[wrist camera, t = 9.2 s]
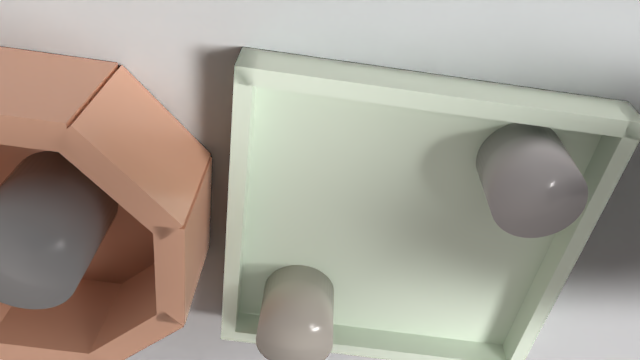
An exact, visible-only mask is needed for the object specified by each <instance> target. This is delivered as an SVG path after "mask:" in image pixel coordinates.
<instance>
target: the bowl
mask: <svg viewBox="0 0 640 360" xmlns="http://www.w3.org/2000/svg"><path fill="white" fill-rule="evenodd" d="M43 151H54V152H59V153H60V154H61V155H63V156H64V157H65V158H66V159H67V160H68V161H69V162H71V163H72V164H73V165H74V166H75V167H76V168H78V169H79V170H80V171H81V172H82V173H83V174H85V175H86V176H87V177H88V178H89V179H90V180H92V181H93V182H94V183H95V184H96V185H97V186H99V187H100V188H101V189H102V190H103V191H104V192H105V193H107V194H108V195H109V196H110V197H111V198H112V199H114V200H115V201H116V202H117V203H118V211H117V215H116V217H115V219H114V221H113V223H112V224H111V226H110V228H109V230H108V232H107V234H106V235H105V237H104V239H103V241H102V243H101V245H100V246H99V248H98V250H97V252H96V254H95V255H94V257H93V259H92V261H91V263H90V265H89V266H88V268H87V270H86V272H85V274H84V275H83V277H82V279H81V281H80V283H79V285H78V286H77V288H76V290H75V292H74V293H73V295H72V296H71V297H70V298H69V299H68V300H67V301H65V302H64V303H62V304H60V305H58V306H55V307H52V308H47V309H24V308H18V307H14V306H10V305H7V304H4V303H1V302H0V360H125V359H126V358H128V357H130V356H132V355H134V354H135V353H137V352H139V351H141V350H143V349H144V348H146V347H148V346H150V345H152V344H153V343H155V342H157V341H159V340H161V339H163V338H164V337H166V336H168V335H170V334H172V333H173V332H175V331H177V330H179V329H181V328H182V327H184V324H185V323H186V320H187V317H188V313H189V310H190V307H191V304H192V300H193V297H194V294H195V291H196V287H197V284H198V281H199V278H200V274H201V271H202V268H203V265H204V261H205V258H206V255H207V252H208V248H209V243H210V209H211V175H212V157H210V155H211V154H210V153H209V152H208V151H207V150H206V149H205V148H204V147H203V146H202V145H201V144H200V143H199V142H198V141H197V140H196V139H195V138H194V137H193V136H192V135H191V134H190V133H189V132H188V131H187V130H186V129H185V127H184V126H183V125H182V124H181V123H180V122H179V121H178V120H177V119H176V118H175V117H174V116H173V115H172V114H171V113H170V112H169V111H168V110H167V109H166V108H165V107H164V106H163V105H162V104H161V103H160V102H159V101H158V100H157V99H156V98H155V97H154V96H153V95H152V94H151V93H150V92H149V91H148V90H147V89H146V88H145V87H144V86H143V85H142V84H141V83H140V82H139V81H138V80H137V79H136V78H135V77H134V76H133V75H132V74H131V73H130V72H129V71H128V70H127V69H126V68H125V67H124V66H123V65H121V66H120V67H119V68H118V63H115V62H108V61H101V60H94V59H87V58H79V57H72V56H65V55H58V54H51V53H44V52H36V51H29V50H22V49H15V48H8V47H1V46H0V184H1V183H2V182H3V181H4V180H5V179H6V178H7V176H8V175H9V174H10V173H11V172H12V171H13V170H14V169H15V167H16V166H17V165H18V164H19V163H20V162H21V161H22V160H23V159H25V158H26V157H28V156H30V155H32V154H34V153H38V152H43Z"/></svg>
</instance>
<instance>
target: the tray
mask: <svg viewBox="0 0 640 360" xmlns="http://www.w3.org/2000/svg"><path fill="white" fill-rule="evenodd" d="M511 123H520V124H527V125H535V126H542V127H549V128H551V129H552V130H553V131H554V132H555V133H556V134H557V135H558V137H559V138H560V140H561V142H562V143H563V145H564V146H565V148H566V150H567V151H568V153H569V155H570V156H571V158H572V160H573V161H574V163H575V165H576V166H577V168H578V169H579V171H580V173H581V174H582V176H583V178H584V179H585V181H586V183H587V187H588V200H587V203H586V206H585V208H584V210H583V212H582V213H581V214H580V216H579V217H578V218H577V219H576V220H575V221H574V222H573V223H572V224H570V225H569V226H568V227H566V228H565V229H563V230H561V231H559V232H557V233H554V234H551V235H548V236H544V237H538V238H523V237H518V236H514V235H512V234H509V233H507V232H506V231H504V230H503V229H501V228H500V227H499V226H498V225H497V224H496V222H495V221H494V219H493V216H492V214H491V211H490V208H489V205H488V202H487V199H486V196H485V193H484V190H483V187H482V184H481V181H480V178H479V175H478V172H477V169H476V157H477V153H478V151H479V148H480V147H481V145H482V143H483V142H484V141H485V139H486V138H487V137H488V136H489V135H491V134H492V133H493V132H494V131H496V130H498V129H499V128H501V127H503V126H506V125H508V124H511ZM639 141H640V114H639V113H638V112H637V111H636V110H635V109H634V108H633V106H632V105H631V104H630V103H629V102H628V101H621V100H614V99H607V98H600V97H593V96H586V95H579V94H572V93H565V92H558V91H551V90H544V89H537V88H529V87H522V86H515V85H508V84H501V83H494V82H487V81H480V80H473V79H466V78H459V77H452V76H445V75H438V74H431V73H424V72H417V71H410V70H402V69H395V68H388V67H381V66H374V65H367V64H360V63H353V62H346V61H339V60H332V59H325V58H318V57H311V56H304V55H297V54H290V53H283V52H275V51H268V50H261V49H254V48H247V47H242V49H241V52H240V54H239V56H238V59H237V61H236V63H235V66H234V85H233V105H232V125H231V145H230V165H229V184H228V204H227V224H226V244H225V264H224V284H223V303H222V323H221V340H229V341H237V342H246V343H254V344H256V335H257V329H258V323H259V317H260V311H261V305H262V299H263V293H264V287H265V283H266V280H267V279H268V277H269V276H270V275H271V274H272V273H273V272H275V271H276V270H278V269H280V268H283V267H286V266H291V265H304V266H309V267H312V268H315V269H317V270H319V271H321V272H322V273H324V274H325V275H326V276H327V277H328V278H329V279H330V280H331V282H332V284H333V287H334V319H333V347H332V350H331V352H330V353H337V354H345V355H353V356H361V357H370V358H378V359H386V360H525V359H526V357H527V355H528V353H529V351H530V350H531V348H532V346H533V344H534V342H535V340H536V338H537V336H538V334H539V332H540V330H541V328H542V327H543V325H544V323H545V321H546V319H547V317H548V315H549V313H550V311H551V309H552V307H553V306H554V304H555V302H556V300H557V298H558V296H559V294H560V292H561V290H562V288H563V286H564V284H565V283H566V281H567V279H568V277H569V275H570V273H571V271H572V269H573V267H574V265H575V263H576V262H577V260H578V258H579V256H580V254H581V252H582V250H583V248H584V246H585V244H586V242H587V240H588V239H589V237H590V235H591V233H592V231H593V229H594V227H595V225H596V223H597V221H598V219H599V218H600V216H601V214H602V212H603V210H604V208H605V206H606V204H607V202H608V200H609V198H610V196H611V195H612V193H613V191H614V189H615V187H616V185H617V183H618V181H619V179H620V177H621V175H622V174H623V172H624V170H625V168H626V166H627V164H628V162H629V160H630V158H631V156H632V154H633V152H634V151H635V149H636V147H637V145H638V143H639Z"/></svg>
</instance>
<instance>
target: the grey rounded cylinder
mask: <svg viewBox="0 0 640 360" xmlns="http://www.w3.org/2000/svg"><path fill="white" fill-rule="evenodd" d="M117 211H118V203H117V202H116V201H115V200H114V199H112V198H111V197H110V196H109V195H108V194H107V193H105V192H104V191H103V190H102V189H101V188H100V187H99V186H97V185H96V184H95V183H94V182H93V181H92V180H90V179H89V178H88V177H87V176H86V175H85V174H83V173H82V172H81V171H80V170H79V169H78V168H76V167H75V166H74V165H73V164H72V163H71V162H69V161H68V160H67V159H66V158H65V157H64V156H63V155H61V154H60V153H59V152H54V151H43V152H38V153H34V154H32V155H30V156H28V157H26V158H25V159H23V160H22V161H21V162H20V163H19V164H18V165H17V166H16V167H15V169H14V170H13V171H12V172H11V173H10V174H9V175H8V176H7V178H6V179H5V180H4V181H3V182H2V183H1V184H0V302H1V303H4V304H7V305H10V306H14V307H18V308H24V309H47V308H52V307H55V306H58V305H60V304H62V303H64V302H65V301H67V300H68V299H69V298H70V297H71V296H72V295H73V293H74V292H75V290H76V288H77V286H78V285H79V283H80V281H81V279H82V277H83V275H84V274H85V272H86V270H87V268H88V266H89V265H90V263H91V261H92V259H93V257H94V255H95V254H96V252H97V250H98V248H99V246H100V245H101V243H102V241H103V239H104V237H105V235H106V234H107V232H108V230H109V228H110V226H111V224H112V223H113V221H114V219H115V217H116V215H117Z"/></svg>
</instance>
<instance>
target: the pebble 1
mask: <svg viewBox="0 0 640 360" xmlns="http://www.w3.org/2000/svg"><path fill="white" fill-rule="evenodd" d="M333 319H334V287H333V284H332V282H331V280H330V279H329V278H328V277H327V276H326V275H325V274H324V273H322V272H321V271H319V270H317V269H315V268H312V267H309V266H304V265H291V266H286V267H283V268H280V269H278V270H276V271H275V272H273V273H272V274H271V275H270V276H269V277H268V279H267V280H266V283H265V287H264V293H263V299H262V305H261V311H260V317H259V323H258V329H257V335H256V345H257V348H258V350H259V351H260V353H261V354H262V355H263V356H264V357H265V358H267V359H268V360H324V359H326V358H327V357H328V355H329V354H330V352H331V350H332V347H333Z"/></svg>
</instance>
